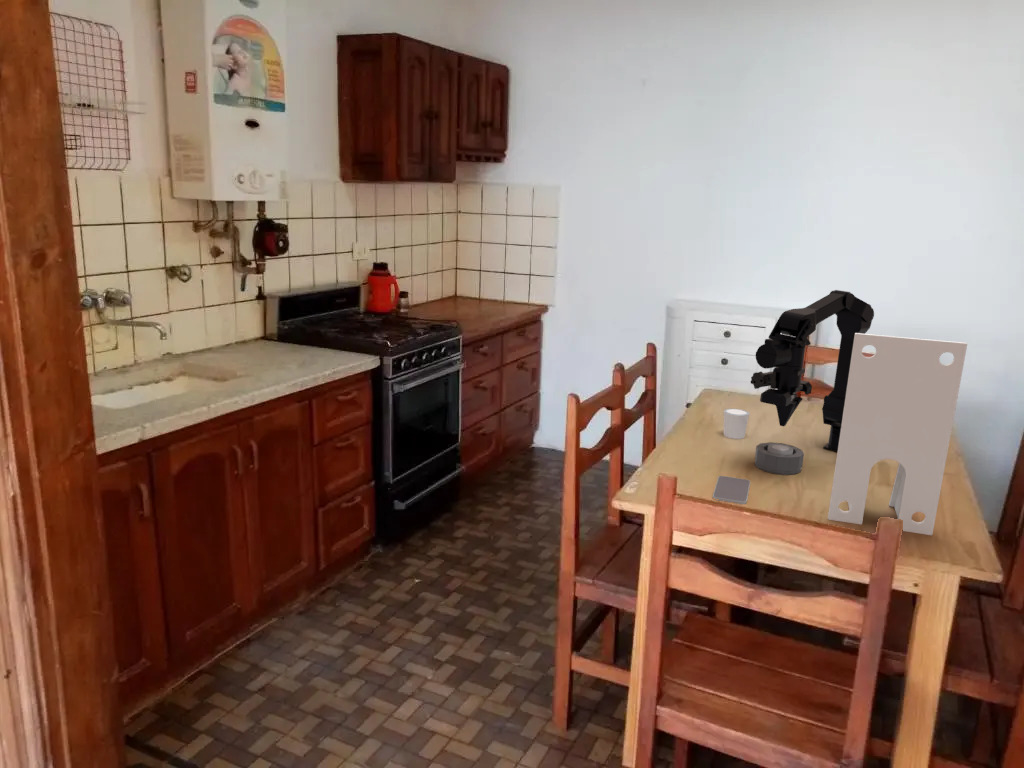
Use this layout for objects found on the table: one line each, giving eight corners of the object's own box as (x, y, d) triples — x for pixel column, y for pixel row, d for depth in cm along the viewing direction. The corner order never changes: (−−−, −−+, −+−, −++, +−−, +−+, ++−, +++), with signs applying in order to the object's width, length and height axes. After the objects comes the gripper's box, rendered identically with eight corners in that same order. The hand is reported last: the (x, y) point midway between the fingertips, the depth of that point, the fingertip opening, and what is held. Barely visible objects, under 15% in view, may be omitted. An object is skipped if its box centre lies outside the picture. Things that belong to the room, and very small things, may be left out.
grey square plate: (750, 480, 190) (746, 502, 176) (750, 483, 190) (746, 506, 177) (718, 475, 193) (712, 496, 179) (718, 478, 193) (711, 500, 179)
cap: (771, 457, 205) (773, 442, 204) (794, 463, 201) (796, 447, 200) (762, 463, 200) (764, 447, 199) (786, 469, 197) (788, 453, 196)
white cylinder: (751, 438, 223) (754, 414, 221) (731, 440, 220) (733, 416, 218) (736, 431, 229) (739, 407, 227) (716, 433, 226) (718, 409, 224)
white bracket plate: (921, 509, 178) (953, 331, 168) (932, 535, 165) (967, 343, 155) (825, 495, 184) (850, 322, 174) (828, 519, 171) (855, 333, 161)
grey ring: (764, 456, 208) (766, 439, 207) (807, 466, 202) (809, 449, 201) (747, 466, 200) (749, 449, 199) (791, 478, 194) (793, 460, 192)
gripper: (772, 353, 206) (765, 411, 210) (743, 364, 192) (735, 426, 196) (816, 360, 200) (807, 420, 203) (789, 372, 185) (780, 437, 189)
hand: (782, 425), depth 198 cm, fingers closed
